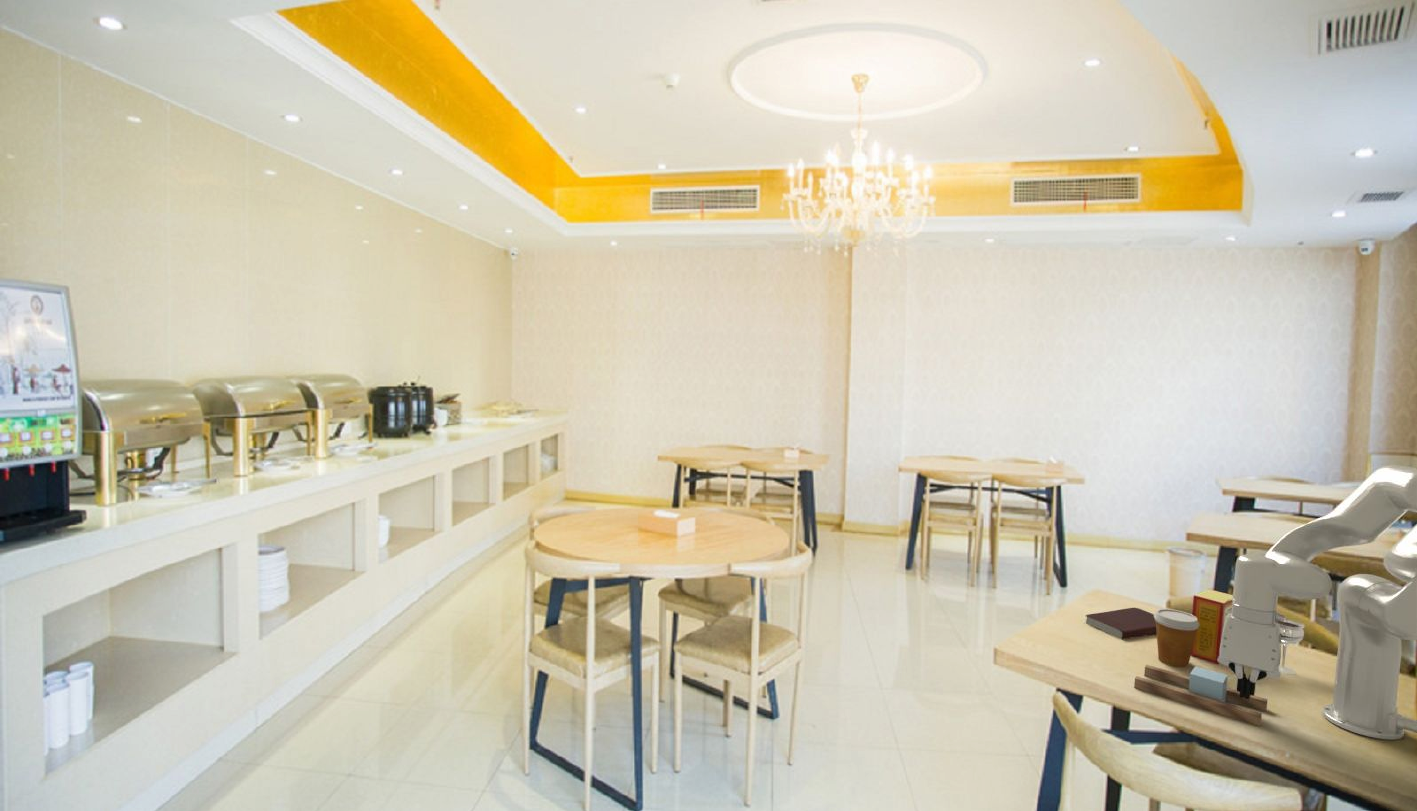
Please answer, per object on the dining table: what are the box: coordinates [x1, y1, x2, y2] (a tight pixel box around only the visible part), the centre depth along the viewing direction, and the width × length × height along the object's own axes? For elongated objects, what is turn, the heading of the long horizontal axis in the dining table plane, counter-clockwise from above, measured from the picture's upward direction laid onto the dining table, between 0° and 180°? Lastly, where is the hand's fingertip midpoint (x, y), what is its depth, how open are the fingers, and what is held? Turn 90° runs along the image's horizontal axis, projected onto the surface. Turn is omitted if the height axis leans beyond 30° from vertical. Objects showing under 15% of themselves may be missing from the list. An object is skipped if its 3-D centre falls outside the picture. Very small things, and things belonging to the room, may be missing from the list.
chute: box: [1133, 664, 1269, 727], centre depth 158 cm, size 23×10×2 cm, turn 45°
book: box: [1085, 607, 1157, 640], centre depth 199 cm, size 12×19×3 cm, turn 109°
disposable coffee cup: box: [1154, 608, 1200, 668], centre depth 176 cm, size 10×10×12 cm
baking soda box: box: [1190, 588, 1233, 665], centre depth 181 cm, size 10×6×16 cm
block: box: [1188, 665, 1228, 703], centre depth 157 cm, size 6×6×6 cm
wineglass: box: [1276, 617, 1305, 675], centre depth 173 cm, size 7×7×12 cm
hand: (1245, 696), depth 152 cm, fingers closed
